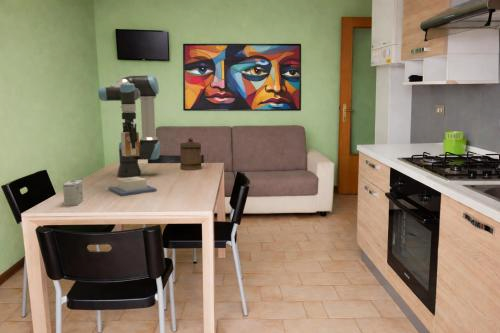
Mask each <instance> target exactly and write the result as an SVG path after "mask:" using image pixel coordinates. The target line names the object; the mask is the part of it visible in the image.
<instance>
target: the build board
mask: <svg viewBox="0 0 500 333" xmlns="http://www.w3.org/2000/svg"><path fill="white" fill-rule="evenodd" d="M116 182H117V186H108V189H107V190H108V191H110V192H112V193H114V194H116V195H119V196H121V197H126V196H132V195H133V196H134V195H140V194H146V193H152V192H157V187H154V186H150V185H148V184H147V183H148V182H147V178H143V177H140V176H136V177H120V178H117V181H116Z"/></svg>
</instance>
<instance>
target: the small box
mask: <svg viewBox="0 0 500 333" xmlns="http://www.w3.org/2000/svg"><path fill="white" fill-rule="evenodd" d="M136 132H137V142H136V143H135V146H136V154H135V155H131V151H130V142H131V140H130V133H129V132H123V131H122V132H120V140H121V146H122V156H139V142H140V134H139V132H138V131H136Z"/></svg>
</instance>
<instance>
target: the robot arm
mask: <svg viewBox="0 0 500 333" xmlns="http://www.w3.org/2000/svg"><path fill="white" fill-rule="evenodd" d="M159 89H160V88H159V82H158V78H157V77H156V76H154V75H129V76H126V77H122V78H120V79H118V80H117V81H116V82H115V83H114V84H112V85H110V86H108V87H107V86H102V87H99V88H98V90H97V92H98V93H97V94H98V99H99V100H100V102H101V101H102V102H109V101H111V102H112V101H115V102H116V101H117V102H119V101H120V105H121V106H120V108H121V119H122V120H124V122H122V124H121V125H122V132H129V133H130V140H131V142H130V151H131V155H135V154H136V146H135V143H136V142H137V132H138V131H137V123H135V122H134V120H136V119H137V114H136V111H137V109H136V101H137V100H138V99H139V100H140V116H141V117H140V119H141V121H140V122H141V137H140V138H139V156H122V146H121V142H119V143H118V152H119V155H118V156H119V166H118V170H117V177H119V178H129V177H140V176H142V170H141V167H140V165H139V161H141V160H143V161H144V160H158V159H159V158H160V155H161V148H162V146H161V145H162V143H161V141H159V138H158V137H157V136H156V123H155V122H156V116H155V114H156V113H155V99H156V98H157V95H159V93H160V91H159Z"/></svg>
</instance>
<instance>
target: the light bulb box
mask: <svg viewBox="0 0 500 333" xmlns="http://www.w3.org/2000/svg"><path fill="white" fill-rule="evenodd" d="M62 187H63V188H62V191H63V203H64V206H67V207H68V206H69V207H70V206H79V204H81V203H82V202H83V201H84V192H83V180H82V179H77V180H75V179H74V180H70V179H69V180H68V181H67V182H65V183H64V184H62Z"/></svg>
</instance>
